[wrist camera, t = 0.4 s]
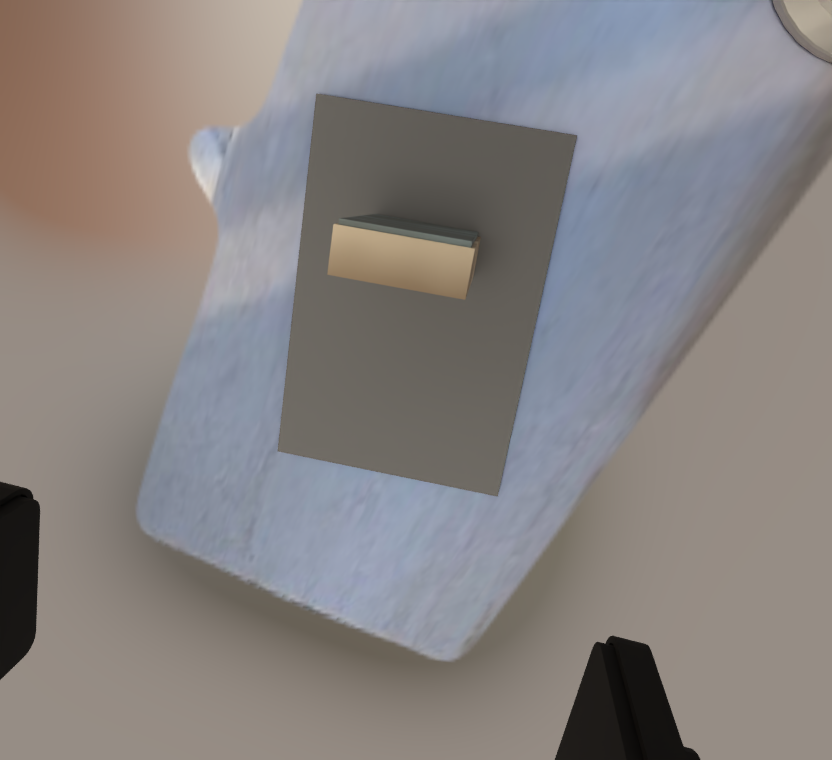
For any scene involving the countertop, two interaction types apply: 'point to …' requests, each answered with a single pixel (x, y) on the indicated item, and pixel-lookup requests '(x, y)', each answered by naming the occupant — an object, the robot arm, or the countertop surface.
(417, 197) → the mat
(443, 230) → the card box
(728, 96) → the countertop surface
